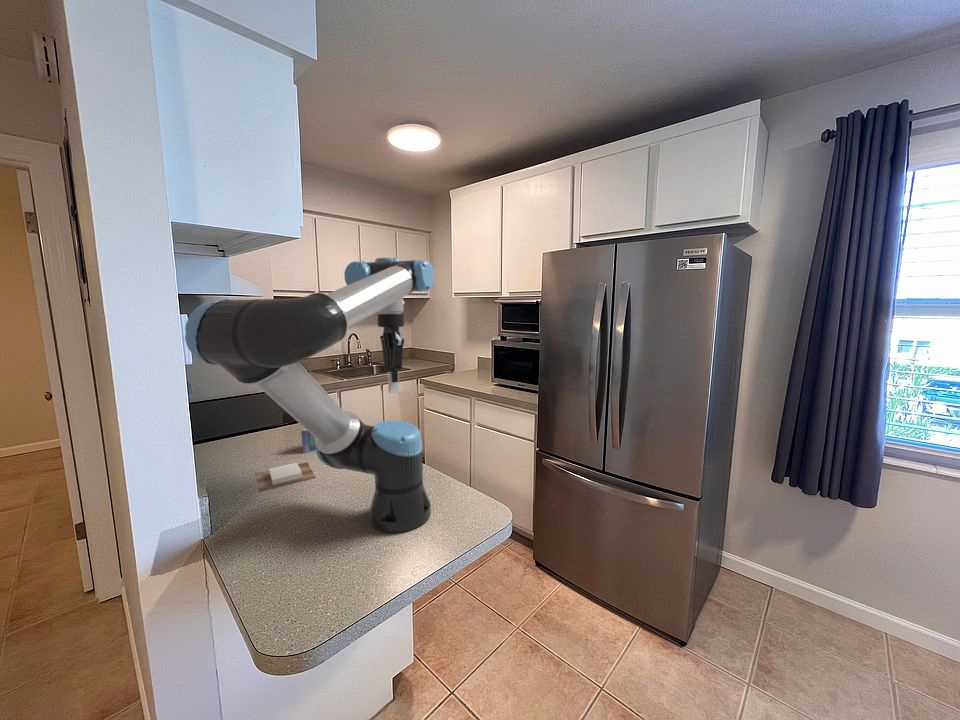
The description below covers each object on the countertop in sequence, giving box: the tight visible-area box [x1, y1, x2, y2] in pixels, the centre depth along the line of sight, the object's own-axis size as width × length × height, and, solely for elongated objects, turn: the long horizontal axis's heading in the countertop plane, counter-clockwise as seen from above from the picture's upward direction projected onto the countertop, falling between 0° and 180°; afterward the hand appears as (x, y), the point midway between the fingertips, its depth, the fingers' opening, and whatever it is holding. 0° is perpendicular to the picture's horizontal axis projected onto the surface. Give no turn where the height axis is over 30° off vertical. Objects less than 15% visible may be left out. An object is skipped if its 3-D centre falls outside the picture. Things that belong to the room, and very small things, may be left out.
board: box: [255, 461, 317, 493], centre depth 118 cm, size 14×15×1 cm
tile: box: [268, 462, 303, 485], centre depth 118 cm, size 2×8×9 cm
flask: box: [300, 428, 317, 454], centre depth 139 cm, size 9×3×11 cm, turn 146°
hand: (393, 392), depth 115 cm, fingers closed
